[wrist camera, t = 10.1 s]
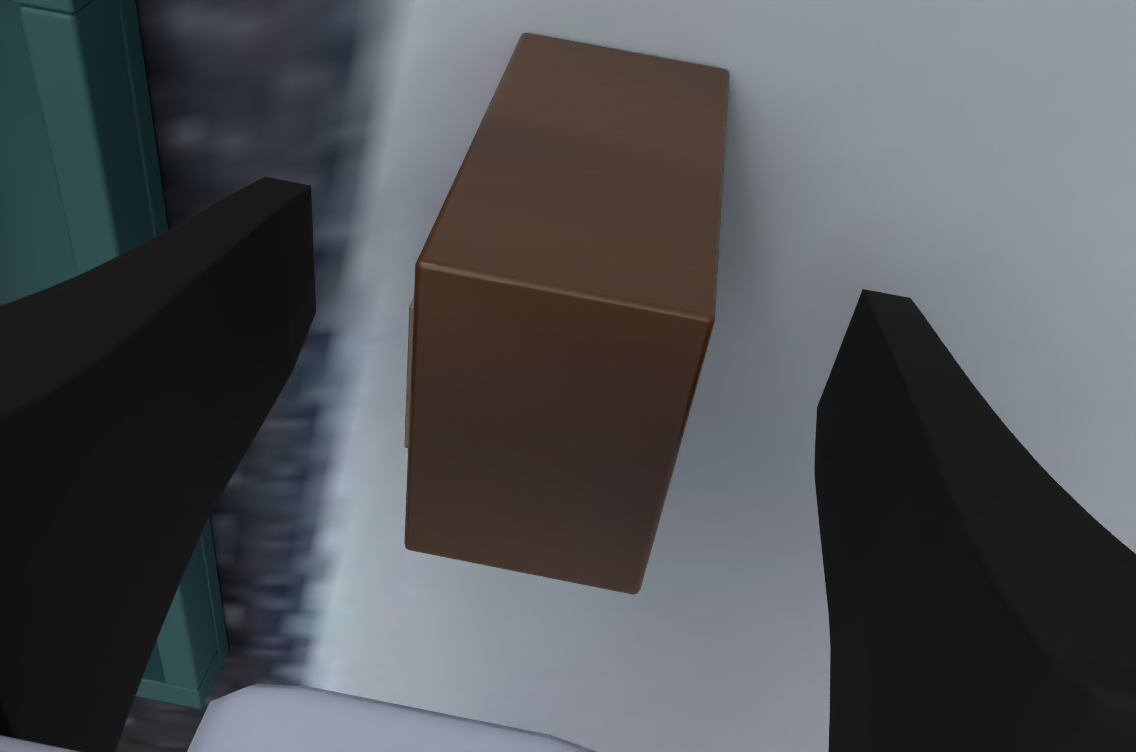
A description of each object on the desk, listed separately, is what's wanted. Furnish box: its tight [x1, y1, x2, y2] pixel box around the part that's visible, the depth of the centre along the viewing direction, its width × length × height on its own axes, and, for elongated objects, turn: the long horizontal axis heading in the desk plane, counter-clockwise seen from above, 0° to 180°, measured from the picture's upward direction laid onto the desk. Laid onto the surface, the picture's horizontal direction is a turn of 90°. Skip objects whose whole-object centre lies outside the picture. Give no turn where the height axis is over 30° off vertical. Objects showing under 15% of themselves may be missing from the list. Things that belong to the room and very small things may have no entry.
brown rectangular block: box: [405, 33, 729, 594], centre depth 14 cm, size 4×3×6 cm
